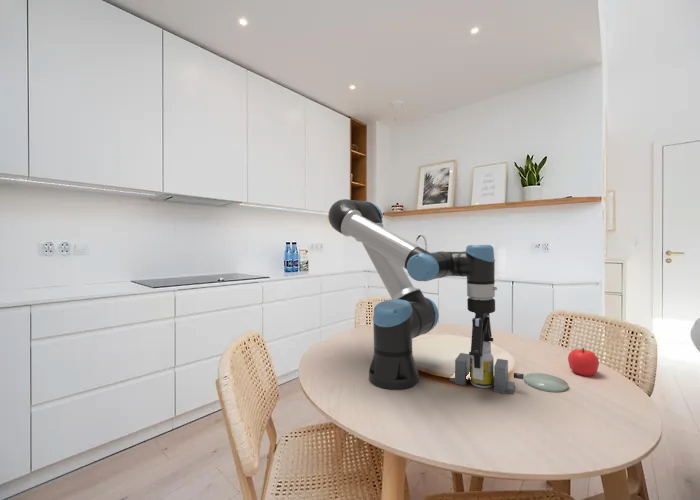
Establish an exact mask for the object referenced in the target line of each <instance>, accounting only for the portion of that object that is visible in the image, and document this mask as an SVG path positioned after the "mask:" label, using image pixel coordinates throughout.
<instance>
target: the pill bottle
mask: <svg viewBox="0 0 700 500" xmlns="http://www.w3.org/2000/svg"><path fill="white" fill-rule="evenodd" d="M475 351H477V350H475ZM489 351H490V345H489V344H487V343H483V351H482V355H483V371H484V379H483V380H479V379H474V378H473V366H472V355H470V377H471V380H470V379H469V382H470V383H471V385H472V386H474V387H478V388H481V389H487V388H488V389H489V388H492V387H494V366H495V363H494V355H493V354H492V352H491V353H489Z"/></svg>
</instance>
